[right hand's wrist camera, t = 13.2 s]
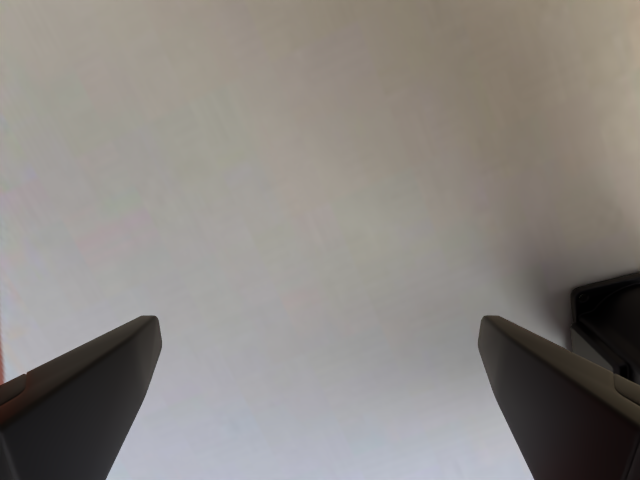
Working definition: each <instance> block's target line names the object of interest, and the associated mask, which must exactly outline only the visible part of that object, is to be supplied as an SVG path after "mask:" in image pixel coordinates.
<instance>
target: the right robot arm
mask: <svg viewBox="0 0 640 480" xmlns="http://www.w3.org/2000/svg"><path fill="white" fill-rule="evenodd" d="M582 294H584V296H583V297H582V298H579V297H580V296H581V295H582ZM571 306H572V318H573V323H572V324H571V327H570V330H571V341H572V352H571V351H569V350H567V349H565V348H563V347H561V346H559V345H557V344H555V343H553V342H551V341H549V340H547V339H545V338H542V337H540V336H538V335H536V334H534V333H532V332H530V331H528V330H526V329H524V328H522V327H520V326H518V325H516V324H514V323H512V322H510V321H508V320H506V319H504V318H502V317H500V316H484V317H483V318H482V320H481V326H480V332H479V338H478V348H479V352H480V355H481V358H482V361H483V364H484V367H485V370H486V373H487V375H488V378H489V381H490V384H491V387H492V390H493V393H494V395H495V398H496V400H497V402H498V405H499V407H500V409H501V411H502V413H503V415H504V417H505V419H506V421H507V423H508V425H509V428H510V430H511V432H512V434H513V436H514V438H515V440H516V442H517V444H518V446H519V448H520V451H521V453H522V455H523V457H524V459H525V461H526V463H527V465H528V467H529V469H530V471H531V474H532V476H533V478H534V480H640V273H636V274H632V275H628V276H624V277H620V278H615V279H611V280H607V281H603V282H599V283H595V284H590V285H586V286H582V287H578V288H576V289H575V290H573V292H572V293H571ZM161 348H162V338H161V332H160V326H159V320H158V318H157V317H156V316H140V317H138V318H136V319H134V320H132V321H130V322H128V323H126V324H124V325H122V326H120V327H118V328H116V329H114V330H112V331H110V332H108V333H106V334H104V335H102V336H100V337H98V338H95V339H93V340H91V341H89V342H87V343H85V344H83V345H81V346H79V347H77V348H75V349H73V350H71V351H69V352H67V353H65V354H63V355H61V356H59V357H57V358H55V359H53V360H51V361H49V362H47V363H45V364H43V365H41V366H39V367H37V368H35V369H33V370H31V371H29V372H27V374H23V375H21V376H19V377H17V378H15V379H13V380H11V381H8V382H6V383H4V384H2V385H0V480H106V478H107V476H108V474H109V471H110V469H111V467H112V465H113V463H114V461H115V459H116V457H117V455H118V453H119V451H120V448H121V446H122V444H123V442H124V440H125V438H126V436H127V434H128V432H129V430H130V428H131V425H132V423H133V421H134V419H135V417H136V415H137V413H138V411H139V409H140V407H141V405H142V402H143V400H144V398H145V395H146V393H147V390H148V387H149V384H150V381H151V378H152V375H153V373H154V370H155V367H156V364H157V361H158V358H159V355H160V352H161Z"/></svg>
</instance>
